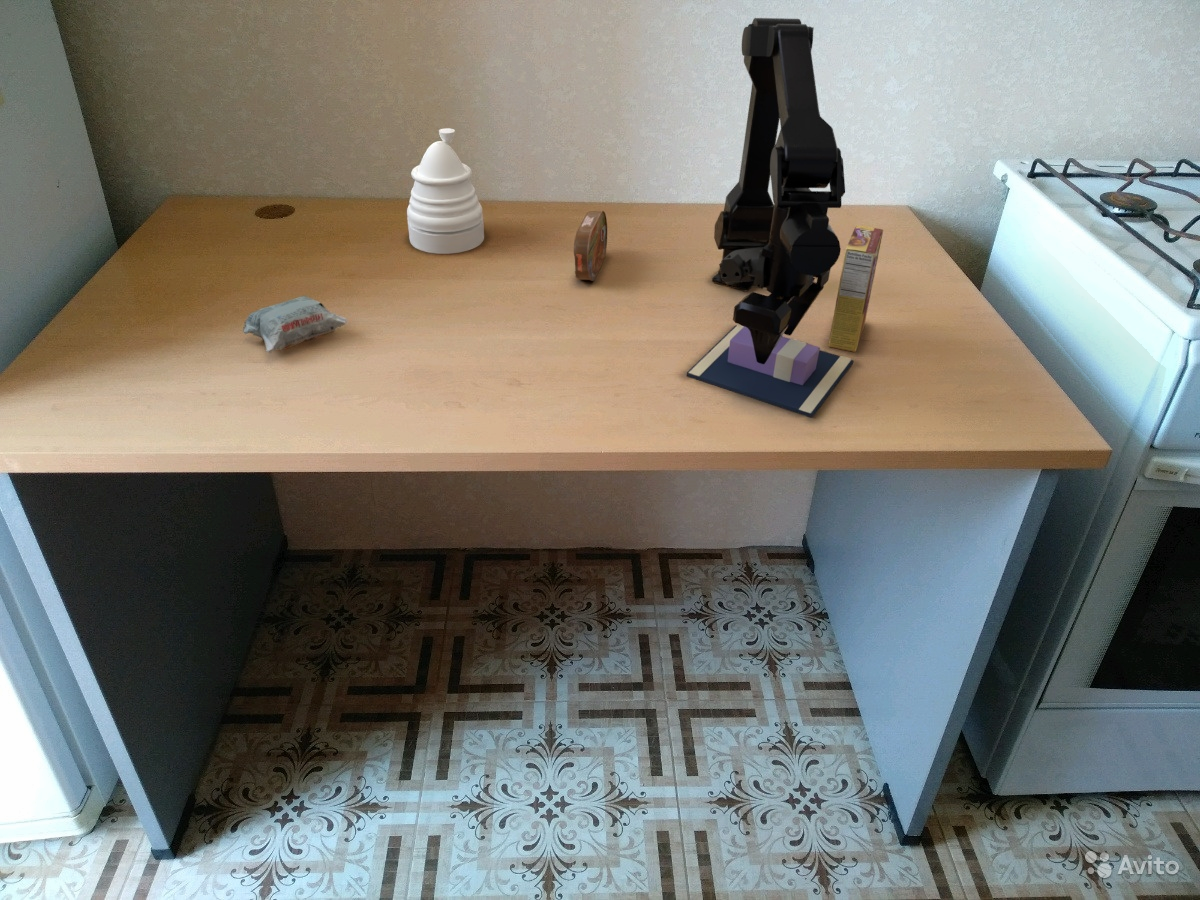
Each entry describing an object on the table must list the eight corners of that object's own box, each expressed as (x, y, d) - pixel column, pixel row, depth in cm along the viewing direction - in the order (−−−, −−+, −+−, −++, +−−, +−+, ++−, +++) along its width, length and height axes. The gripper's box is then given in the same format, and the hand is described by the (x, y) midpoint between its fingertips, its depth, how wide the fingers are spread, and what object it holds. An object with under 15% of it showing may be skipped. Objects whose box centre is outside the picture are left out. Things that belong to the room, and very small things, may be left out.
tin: (590, 289, 140) (591, 239, 135) (570, 287, 141) (570, 237, 136) (608, 251, 152) (610, 203, 147) (590, 249, 152) (591, 201, 147)
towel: (735, 328, 131) (736, 324, 131) (852, 363, 124) (853, 359, 123) (686, 376, 120) (686, 371, 120) (812, 418, 113) (812, 413, 112)
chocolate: (742, 347, 126) (745, 324, 124) (815, 369, 121) (820, 346, 119) (727, 362, 122) (729, 339, 120) (802, 386, 118) (806, 362, 116)
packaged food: (349, 336, 126) (343, 305, 123) (270, 364, 120) (262, 332, 117) (320, 315, 131) (314, 284, 128) (243, 340, 125) (235, 309, 122)
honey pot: (445, 218, 162) (437, 116, 151) (499, 236, 156) (494, 132, 145) (393, 240, 153) (381, 135, 142) (448, 260, 147) (439, 152, 136)
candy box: (835, 319, 134) (855, 223, 125) (864, 325, 133) (886, 228, 124) (825, 347, 127) (845, 247, 118) (855, 353, 126) (878, 253, 117)
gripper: (762, 202, 120) (747, 305, 130) (701, 250, 107) (690, 360, 117) (841, 221, 116) (820, 326, 125) (787, 273, 103) (768, 386, 112)
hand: (774, 348), depth 120 cm, fingers open, 9 cm apart
